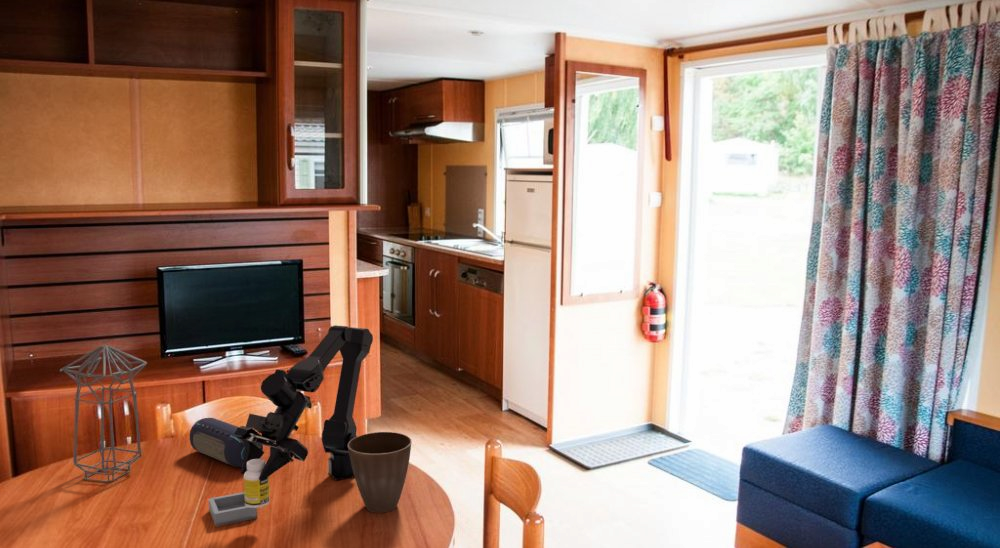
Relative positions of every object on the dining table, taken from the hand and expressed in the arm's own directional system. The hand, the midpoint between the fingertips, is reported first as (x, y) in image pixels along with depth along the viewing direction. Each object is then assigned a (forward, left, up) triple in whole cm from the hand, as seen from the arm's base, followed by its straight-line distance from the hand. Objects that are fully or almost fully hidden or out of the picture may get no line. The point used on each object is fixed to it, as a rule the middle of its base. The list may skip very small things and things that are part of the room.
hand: (251, 477), depth 172 cm
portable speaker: (-2, -47, -13) cm, 49 cm away
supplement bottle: (-1, -1, -7) cm, 7 cm away
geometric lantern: (+27, -49, -12) cm, 57 cm away
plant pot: (-29, +2, -12) cm, 32 cm away
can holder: (+3, -10, -12) cm, 16 cm away
